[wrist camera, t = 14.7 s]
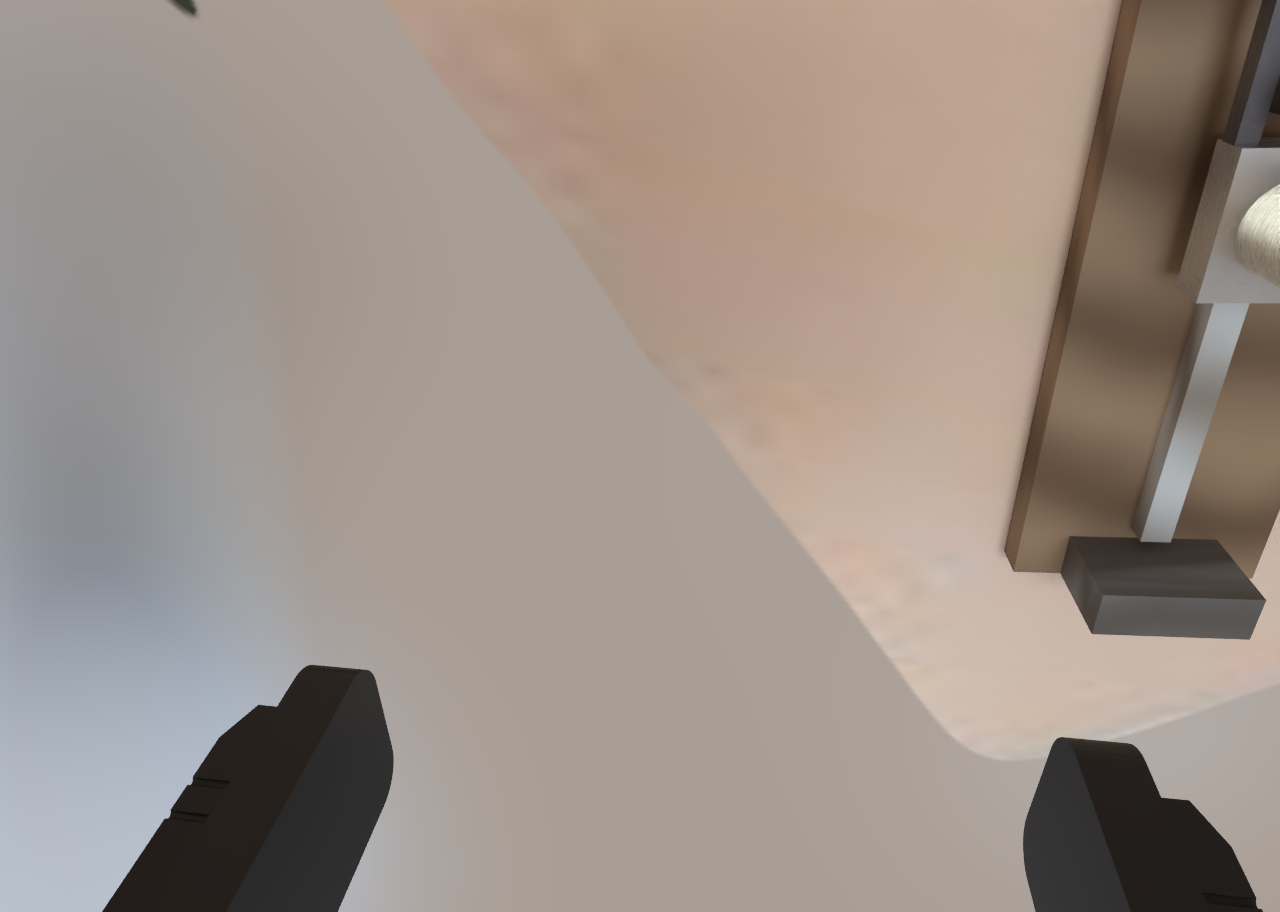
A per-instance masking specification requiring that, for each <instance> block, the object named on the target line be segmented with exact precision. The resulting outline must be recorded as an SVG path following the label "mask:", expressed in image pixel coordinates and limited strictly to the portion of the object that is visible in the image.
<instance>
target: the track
mask: <svg viewBox="0 0 1280 912" xmlns="http://www.w3.org/2000/svg"><path fill="white" fill-rule="evenodd" d="M1261 3H1262V0H1123V2H1122V7H1121V12H1120V16H1119V21H1118V26H1117V30H1116V35H1115V40H1114V44H1113V49H1112V54H1111V58H1110V63H1109V68H1108V72H1107V77H1106V82H1105V86H1104V91H1103V95H1102V100H1101V105H1100V109H1099V114H1098V119H1097V123H1096V128H1095V133H1094V137H1093V142H1092V147H1091V151H1090V156H1089V161H1088V165H1087V170H1086V175H1085V179H1084V184H1083V189H1082V193H1081V198H1080V203H1079V207H1078V212H1077V217H1076V221H1075V226H1074V231H1073V235H1072V240H1071V245H1070V249H1069V254H1068V259H1067V263H1066V268H1065V273H1064V277H1063V282H1062V287H1061V291H1060V296H1059V301H1058V305H1057V310H1056V315H1055V319H1054V324H1053V329H1052V333H1051V338H1050V343H1049V347H1048V352H1047V357H1046V361H1045V366H1044V371H1043V375H1042V380H1041V384H1040V389H1039V394H1038V398H1037V403H1036V408H1035V412H1034V417H1033V422H1032V426H1031V431H1030V436H1029V440H1028V445H1027V450H1026V454H1025V459H1024V464H1023V468H1022V473H1021V478H1020V482H1019V487H1018V492H1017V496H1016V501H1015V506H1014V510H1013V515H1012V520H1011V524H1010V529H1009V534H1008V538H1007V543H1006V548H1005V553H1006V556H1007V558H1008V560H1009V562H1010V565H1011V567H1012V569H1013V571H1014V572H1047V573H1061V575H1062V577H1063V579H1064V581H1065V583H1066V585H1067V587H1068V589H1069V591H1070V593H1071V595H1072V596H1073V598H1074V600H1075V602H1076V604H1077V606H1078V608H1079V610H1080V612H1081V614H1082V616H1083V618H1084V620H1085V622H1086V623H1087V625H1088V627H1089V629H1090V631H1091V633H1092V634H1108V635H1137V636H1165V637H1193V638H1222V639H1250V638H1251V635H1252V633H1253V631H1254V628H1255V626H1256V623H1257V621H1258V619H1259V616H1260V614H1261V611H1262V609H1263V607H1264V604H1265V602H1266V599H1265V598H1264V597H1263V596H1262V595H1261V593H1260V592H1259V591H1258V590H1257V588H1256V587H1255V586H1254V585H1253V583H1252V582H1251V581H1250V580H1249V579H1248V578H1252V577H1253V575H1254V572H1255V570H1256V567H1257V565H1258V562H1259V560H1260V557H1261V555H1262V552H1263V550H1264V547H1265V545H1266V542H1267V540H1268V537H1269V535H1270V532H1271V530H1272V527H1273V525H1274V522H1275V520H1276V517H1277V515H1278V512H1279V510H1280V303H1195V302H1194V301H1192V300H1191V299H1190V298H1189V297H1187V296H1186V295H1185V294H1183V293H1182V292H1181V291H1180V290H1178V289H1177V288H1176V284H1177V281H1178V277H1179V274H1180V270H1181V266H1182V263H1183V259H1184V256H1185V252H1186V249H1187V245H1188V242H1189V238H1190V235H1191V231H1192V228H1193V224H1194V221H1195V217H1196V213H1197V210H1198V206H1199V203H1200V199H1201V196H1202V192H1203V189H1204V185H1205V182H1206V178H1207V175H1208V171H1209V168H1210V164H1211V160H1212V157H1213V153H1214V150H1215V146H1216V143H1217V139H1223V136H1224V132H1225V129H1226V125H1227V122H1228V118H1229V115H1230V111H1231V108H1232V104H1233V101H1234V97H1235V94H1236V90H1237V87H1238V83H1239V80H1240V76H1241V73H1242V69H1243V66H1244V62H1245V59H1246V55H1247V52H1248V48H1249V45H1250V41H1251V38H1252V34H1253V31H1254V27H1255V24H1256V20H1257V17H1258V13H1259V10H1260V6H1261ZM1278 137H1280V76H1279V80H1278V83H1277V86H1276V89H1275V93H1274V96H1273V99H1272V102H1271V106H1270V109H1269V112H1268V115H1267V119H1266V122H1265V125H1264V129H1263V132H1262V135H1261V138H1278Z"/></svg>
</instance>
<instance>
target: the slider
mask: <svg viewBox="0 0 1280 912" xmlns="http://www.w3.org/2000/svg"><path fill="white" fill-rule="evenodd" d="M1279 76H1280V0H1262V3H1261V6H1260V10H1259V13H1258V17H1257V20H1256V24H1255V27H1254V31H1253V34H1252V38H1251V41H1250V45H1249V48H1248V52H1247V55H1246V59H1245V62H1244V66H1243V69H1242V73H1241V76H1240V80H1239V83H1238V87H1237V90H1236V94H1235V97H1234V101H1233V104H1232V108H1231V111H1230V115H1229V118H1228V122H1227V125H1226V129H1225V132H1224V136H1223V139H1217V143H1216V146H1215V150H1214V153H1213V157H1212V160H1211V164H1210V168H1209V171H1208V175H1207V178H1206V182H1205V185H1204V189H1203V192H1202V196H1201V199H1200V203H1199V206H1198V210H1197V213H1196V217H1195V221H1194V224H1193V228H1192V231H1191V235H1190V238H1189V242H1188V245H1187V249H1186V252H1185V256H1184V259H1183V263H1182V266H1181V270H1180V274H1179V277H1178V281H1177V284H1176V288H1177V289H1178V290H1180V291H1181V292H1182V293H1183V294H1185V295H1186V296H1187V297H1189V298H1190V299H1191V300H1192V301H1194V302H1195V303H1280V137H1278V138H1261V135H1262V132H1263V129H1264V125H1265V122H1266V119H1267V115H1268V112H1269V109H1270V106H1271V102H1272V99H1273V96H1274V93H1275V89H1276V86H1277V83H1278V80H1279Z"/></svg>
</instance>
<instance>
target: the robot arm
mask: <svg viewBox="0 0 1280 912" xmlns="http://www.w3.org/2000/svg"><path fill="white" fill-rule="evenodd" d="M392 773H393V750H392V745H391V741H390V737H389V733H388V729H387V725H386V721H385V717H384V713H383V709H382V704H381V700H380V697H379V692H378V688H377V684H376V680H375V677H374V676H373V674H372V673H371V672H370V671H368V670H361V669H350V668H340V667H329V666H318V665H309V666H306V667H305V668H303V669H302V670H301V671H300V672H299V673H298V675H297V676H296V678H295V679H294V681H293V682H292V684H291V685H290V687H289V689H288V690H287V692H286V693H285V695H284V697H283V698H282V700H281V702H280V703H279V705H278V706H277V707H273V706H264V705H258V706H257V707H255V709H253V710H252V711H251V712H249V713H248V714H247V715H246V716H245V717H243V718H242V719H241V720H240V721H239V722H237V723H236V724H235V725H234V726H233V727H231V728H230V729H229V730H228V731H227V732H225V733H224V734H223V735H222V736H221V737H219V739H218V740H217V742H216V744H215V745H214V746H213V748H212V749H211V751H210V752H209V754H208V755H207V757H206V758H205V760H204V761H203V763H202V764H201V766H200V767H199V769H198V770H197V772H196V773H195V775H194V776H193V782H192V784H191V785H187V786H186V788H185V790H184V791H183V792H182V794H181V795H180V797H179V798H178V800H177V801H176V803H175V804H174V806H173V807H172V809H171V815H170V817H169V818H168V819H164V821H163V822H162V824H161V825H160V827H159V828H158V830H157V831H156V833H155V834H154V836H153V837H152V838H151V840H150V842H149V843H148V844H147V846H146V847H145V849H144V850H143V852H142V853H141V855H140V856H139V858H138V859H137V861H136V862H135V864H134V865H133V867H132V868H131V870H130V872H129V873H128V874H127V876H126V877H125V879H124V880H123V882H122V883H121V885H120V886H119V888H118V889H117V890H116V892H115V894H114V895H113V897H112V898H111V899H110V901H109V902H108V904H107V906H106V907H105V909H104V910H103V911H102V912H338V910H339V907H340V905H341V903H342V900H343V898H344V896H345V893H346V891H347V889H348V887H349V884H350V882H351V880H352V878H353V875H354V873H355V871H356V869H357V866H358V864H359V862H360V859H361V857H362V855H363V853H364V850H365V848H366V846H367V843H368V841H369V839H370V837H371V834H372V832H373V829H374V827H375V825H376V823H377V821H378V818H379V816H380V814H381V811H382V809H383V807H384V804H385V802H386V799H387V796H388V793H389V789H390V785H391V780H392ZM1023 851H1024V863H1025V870H1026V876H1027V880H1028V884H1029V888H1030V891H1031V895H1032V899H1033V903H1034V907H1035V910H1036V912H1263V911H1262V909H1258V908H1257V906H1256V897H1255V895H1254V893H1253V891H1252V888H1251V887H1250V884H1249V882H1248V880H1247V878H1246V876H1245V874H1244V872H1243V870H1242V868H1241V866H1240V864H1239V862H1238V860H1237V857H1236V855H1235V853H1234V851H1233V849H1232V847H1231V846H1230V845H1229V844H1228V843H1227V841H1226V840H1225V839H1224V838H1223V837H1222V836H1221V835H1220V834H1219V833H1218V832H1217V831H1216V829H1215V828H1214V827H1213V826H1212V825H1211V824H1210V823H1209V822H1208V821H1207V820H1206V819H1205V817H1204V816H1203V815H1202V814H1201V813H1200V812H1199V811H1198V810H1197V809H1196V808H1195V806H1194V805H1193V804H1192V803H1191V802H1190V801H1188V800H1178V799H1168V798H1161V796H1160V794H1159V792H1158V789H1157V787H1156V785H1155V782H1154V780H1153V778H1152V776H1151V773H1150V771H1149V769H1148V766H1147V764H1146V762H1145V760H1144V758H1143V756H1142V754H1141V753H1140V751H1139V750H1138V749H1137V748H1136V747H1135V746H1134V745H1132V744H1128V743H1118V742H1107V741H1096V740H1086V739H1075V738H1064V737H1060V738H1058V739H1056V740H1055V742H1054V743H1053V745H1052V748H1051V750H1050V753H1049V756H1048V759H1047V762H1046V765H1045V767H1044V770H1043V773H1042V776H1041V778H1040V781H1039V784H1038V787H1037V790H1036V793H1035V795H1034V798H1033V801H1032V803H1031V806H1030V809H1029V812H1028V815H1027V818H1026V821H1025V827H1024V836H1023Z"/></svg>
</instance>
